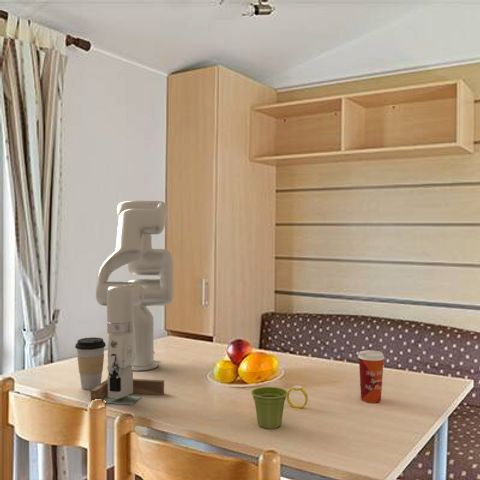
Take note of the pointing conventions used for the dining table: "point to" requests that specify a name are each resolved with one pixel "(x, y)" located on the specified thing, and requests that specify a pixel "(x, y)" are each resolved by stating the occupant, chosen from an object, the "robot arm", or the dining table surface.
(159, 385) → the corner walls
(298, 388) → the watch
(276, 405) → the plant pot
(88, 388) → the coffee cup
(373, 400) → the paper cup
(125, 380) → the white carton
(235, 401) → the dining table surface
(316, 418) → the dining table surface
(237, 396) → the dining table surface
